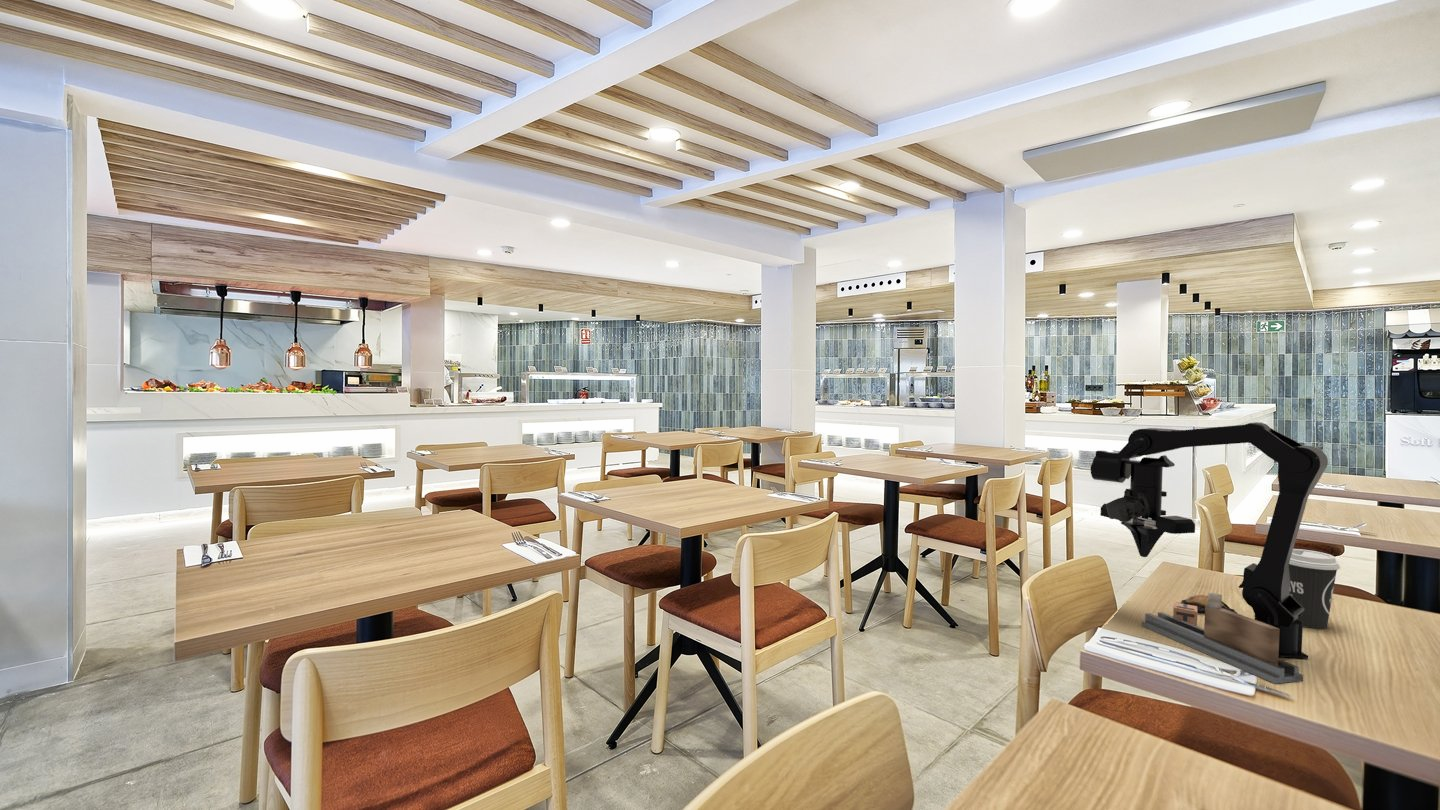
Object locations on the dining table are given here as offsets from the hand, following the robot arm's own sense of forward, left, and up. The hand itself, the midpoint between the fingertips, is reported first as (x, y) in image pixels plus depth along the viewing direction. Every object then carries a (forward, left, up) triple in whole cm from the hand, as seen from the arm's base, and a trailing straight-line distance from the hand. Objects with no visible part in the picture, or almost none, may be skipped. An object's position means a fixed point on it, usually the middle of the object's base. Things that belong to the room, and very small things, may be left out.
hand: (1143, 556), depth 137 cm
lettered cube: (-6, +5, -13) cm, 15 cm away
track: (-4, +18, -13) cm, 22 cm away
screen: (-6, +22, -12) cm, 26 cm away
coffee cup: (-33, -1, -13) cm, 36 cm away
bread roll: (-17, -6, -14) cm, 22 cm away
